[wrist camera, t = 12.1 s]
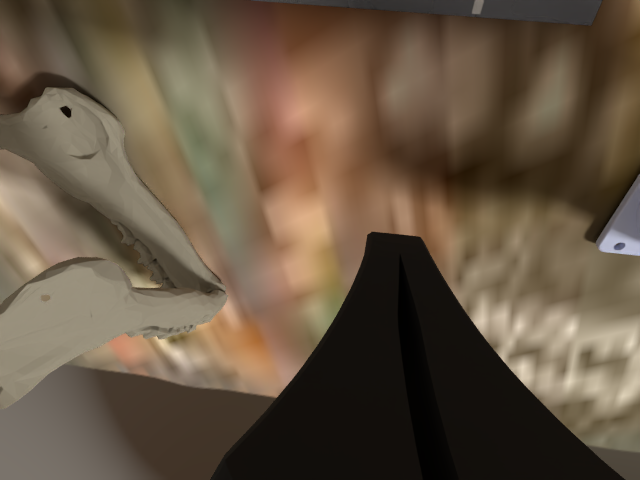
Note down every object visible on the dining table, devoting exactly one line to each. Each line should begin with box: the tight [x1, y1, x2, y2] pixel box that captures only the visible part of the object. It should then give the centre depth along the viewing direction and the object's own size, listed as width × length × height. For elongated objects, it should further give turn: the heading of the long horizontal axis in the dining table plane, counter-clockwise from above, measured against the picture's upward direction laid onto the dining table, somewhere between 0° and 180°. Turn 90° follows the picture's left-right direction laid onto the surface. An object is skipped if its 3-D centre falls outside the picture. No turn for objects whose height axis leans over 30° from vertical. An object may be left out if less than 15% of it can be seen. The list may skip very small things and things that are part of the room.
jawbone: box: [0, 87, 228, 409], centre depth 21 cm, size 14×8×15 cm
